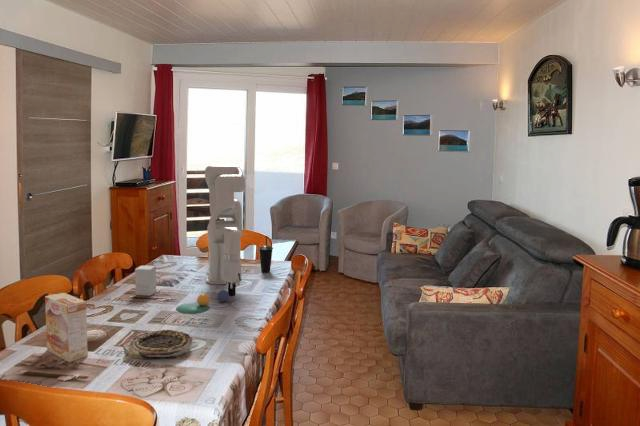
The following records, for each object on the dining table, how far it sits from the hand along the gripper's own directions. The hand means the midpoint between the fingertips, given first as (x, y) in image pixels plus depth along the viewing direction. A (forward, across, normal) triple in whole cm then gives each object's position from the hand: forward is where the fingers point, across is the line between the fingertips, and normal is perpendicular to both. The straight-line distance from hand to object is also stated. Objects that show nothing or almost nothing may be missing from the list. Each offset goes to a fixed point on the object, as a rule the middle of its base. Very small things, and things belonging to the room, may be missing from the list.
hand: (231, 295), depth 254 cm
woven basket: (+2, +32, -55) cm, 64 cm away
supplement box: (+2, -33, -25) cm, 41 cm away
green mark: (+2, 0, -21) cm, 21 cm away
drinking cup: (+2, -28, +45) cm, 53 cm away
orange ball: (-1, 0, -16) cm, 16 cm away
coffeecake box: (+2, +13, -80) cm, 81 cm away
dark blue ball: (-1, +1, -6) cm, 6 cm away
